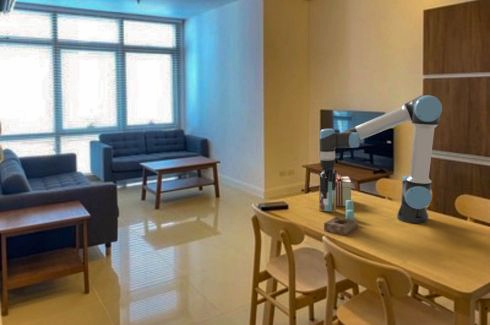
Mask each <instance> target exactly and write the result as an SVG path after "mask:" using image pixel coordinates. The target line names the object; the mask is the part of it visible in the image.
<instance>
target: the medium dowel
mask: <svg viewBox="0 0 490 325" xmlns="http://www.w3.org/2000/svg"><path fill="white" fill-rule="evenodd" d="M354 203H355V201H354V200H352V199H351V200H346V206H345V211H346V210H354Z"/></svg>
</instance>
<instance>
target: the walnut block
mask: <svg viewBox="0 0 490 325" xmlns="http://www.w3.org/2000/svg"><path fill="white" fill-rule="evenodd" d="M358 229H359V221H357V220H355V219H354V220H349V219H346V218H343V217H339V216H335V217H333V218H331V219H329V220H327V221H325V222H324V223H323V231H324V232H329V233H333V234H337V235H341V236H348V235H350V234H352V233H353V232H356V231H357V230H358Z"/></svg>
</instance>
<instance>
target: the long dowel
mask: <svg viewBox="0 0 490 325" xmlns="http://www.w3.org/2000/svg"><path fill="white" fill-rule="evenodd" d="M328 192H329V205H325V211H324V212H326V211H332V182H330V181H328Z"/></svg>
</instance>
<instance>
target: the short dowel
mask: <svg viewBox="0 0 490 325" xmlns="http://www.w3.org/2000/svg"><path fill="white" fill-rule="evenodd" d="M345 219H349V220H354V221H355V210H354V209H353V210H346V209H345Z"/></svg>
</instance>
